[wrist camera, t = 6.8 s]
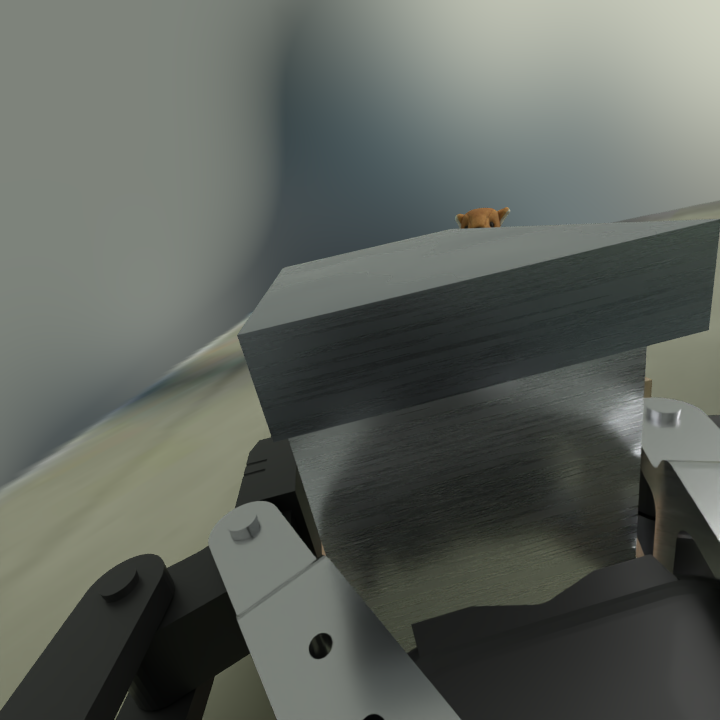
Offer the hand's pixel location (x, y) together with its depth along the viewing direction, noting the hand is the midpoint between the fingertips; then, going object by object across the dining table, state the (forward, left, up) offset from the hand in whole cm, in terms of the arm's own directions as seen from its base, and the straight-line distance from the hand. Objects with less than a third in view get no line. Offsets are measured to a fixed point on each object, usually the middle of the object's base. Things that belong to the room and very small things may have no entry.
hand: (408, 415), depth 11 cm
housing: (+1, +2, -6) cm, 6 cm away
